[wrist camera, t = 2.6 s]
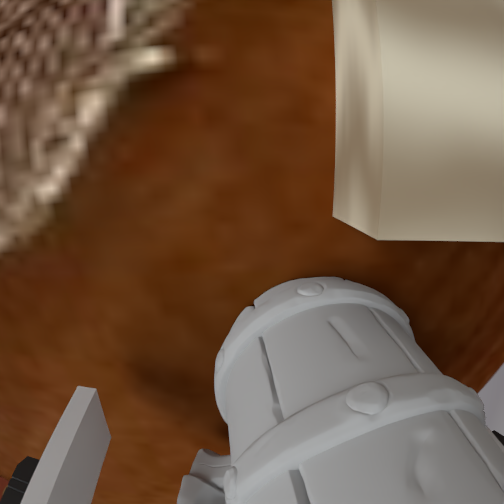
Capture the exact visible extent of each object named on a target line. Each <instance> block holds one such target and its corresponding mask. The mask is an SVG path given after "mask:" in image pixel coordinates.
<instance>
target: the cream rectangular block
mask: <svg viewBox="0 0 504 504" xmlns="http://www.w3.org/2000/svg"><path fill="white" fill-rule="evenodd" d="M332 7H333V22H334V41H335V68H336V153H335V182H334V202H333V217H335V218H337V219H339V220H341V221H343V222H345V223H347V224H348V225H350V226H352V227H354V228H356V229H358V230H360V231H362V232H364V233H365V234H367V235H369V236H371V237H373V238H375V239H376V240H420V241H478V242H504V0H332Z"/></svg>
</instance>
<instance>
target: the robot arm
mask: <svg viewBox="0 0 504 504" xmlns="http://www.w3.org/2000/svg"><path fill="white" fill-rule="evenodd" d="M485 428H486V430H487V431H488V432H489V434H490V435H491V436H492V438H493V439H494V440H495V442H496V443H497V444H498V446H499V447H500V449H501V450H502V451H503V453H504V436H502V435H501V434H499V433H498V432H496V431H492V432H491V430H490V429H489V428H488V427H487V426H486V425H485ZM110 439H111V435H110V432H109V429H108V426H107V423H106V420H105V417H104V414H103V410H102V407H101V404H100V400H99V397H98V393H97V389H94V388H88V387H82V386H78V387H77V389H76V391H75V393H74V394H73V396H72V398H71V400H70V402H69V404H68V405H67V407H66V409H65V411H64V413H63V415H62V417H61V419H60V421H59V423H58V424H57V426H56V428H55V430H54V432H53V434H52V436H51V438H50V440H49V442H48V444H47V446H46V448H45V450H44V453H43V455H42V457H41V459H40V460H38V459H35V458H32V457H29V456H27V457H26V458H25V459H24V460H23V461H21V462H20V463H19V464H18V465H17V467H16V469H15V471H14V473H13V475H12V479H10V481H9V483H8V487H6V489H5V491H4V494H3V496H2V498H1V500H0V504H91V501H92V498H93V494H94V491H95V487H96V484H97V481H98V477H99V474H100V471H101V467H102V464H103V461H104V458H105V455H106V452H107V449H108V446H109V442H110Z"/></svg>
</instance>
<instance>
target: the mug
mask: <svg viewBox="0 0 504 504" xmlns="http://www.w3.org/2000/svg"><path fill="white" fill-rule="evenodd" d="M254 305H255V307H254V306H248V307H246V308H245V309H244V310H243V311H242V312H241V314H240V315H239V316H238V318H237V319H236V321H235V323H234V324H233V326H232V328H231V330H230V332H229V334H228V336H227V337H226V339H225V341H224V343H223V345H222V347H221V349H220V351H219V352H218V355H217V358H216V362H215V375H214V389H215V397H216V402H217V406H218V408H219V411H220V413H221V415H222V417H223V419H224V420H225V422H226V423H227V424H228V430H229V441H230V451H231V455H223V456H220V455H219V454H217V453H215V452H213V451H211V450H209V449H200V450H199V451H198V453H197V456H196V458H195V460H194V462H193V465H192V468H191V470H190V473H189V475H184V476H183V479H182V484H181V489H180V492H179V495H178V500H177V504H504V453H503V451H502V450H501V449H500V447H499V446H498V444H497V443H496V442H495V440H494V439H493V438H492V436H491V435H490V434H489V432H488V431H487V430H486V428H485V412H484V411H483V410H484V404H483V402H482V400H481V399H480V398H479V396H478V394H477V393H476V392H475V391H474V390H473V389H472V388H470V387H467V386H465V385H463V384H461V383H460V382H458V381H457V380H455V379H453V378H451V377H449V376H445V375H443V374H442V373H441V372H440V371H439V370H438V368H437V367H436V366H435V365H434V364H433V362H432V361H431V360H430V359H429V358H428V356H427V355H426V354H425V353H424V352H423V351H422V349H421V348H420V347H419V346H418V345H417V344H416V342H415V338H414V335H413V332H412V329H411V326H410V325H409V318H408V316H407V315H406V314H405V313H404V311H403V310H402V309H400V308H399V307H397V306H396V305H395V304H394V303H393V302H392V301H391V300H390V299H388V298H387V297H386V296H385V295H383V294H382V293H380V292H378V291H376V290H374V289H372V288H370V287H367V286H365V285H362V284H359V283H355V282H352V281H349V280H343V279H342V278H339V277H313V278H301V279H296V280H291V281H288V282H285V283H282V284H280V285H278V286H275V287H273V288H271V289H270V290H268V291H266V292H265V293H263V294H262V295H261V296H259V297H258V298H257V299H255V300H254Z"/></svg>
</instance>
